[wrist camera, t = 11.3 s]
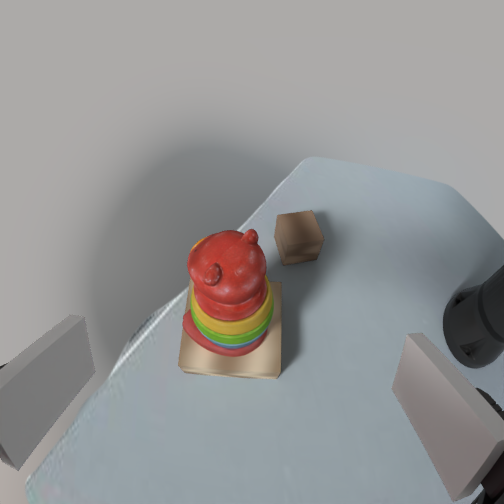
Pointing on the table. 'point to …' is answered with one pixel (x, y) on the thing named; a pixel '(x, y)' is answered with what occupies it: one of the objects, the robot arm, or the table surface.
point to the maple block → (247, 366)
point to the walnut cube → (298, 237)
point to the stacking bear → (229, 294)
